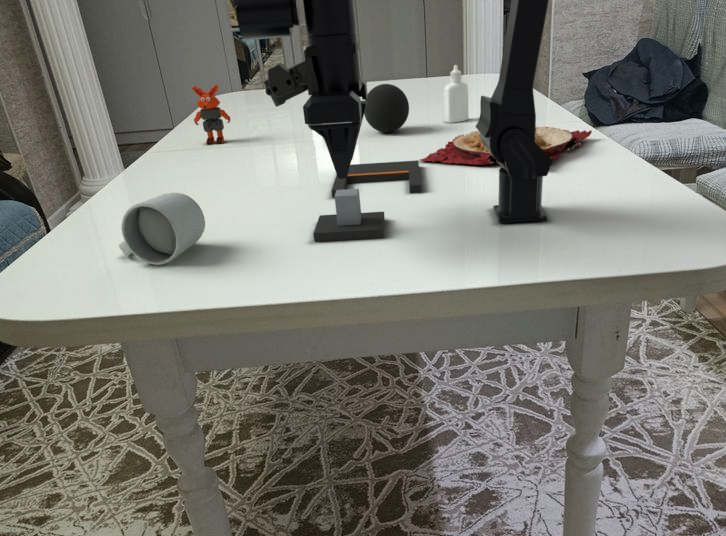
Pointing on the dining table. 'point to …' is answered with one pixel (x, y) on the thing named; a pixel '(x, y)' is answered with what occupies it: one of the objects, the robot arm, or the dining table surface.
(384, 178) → the dock pad
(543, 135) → the plate with food
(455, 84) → the eye dropper bottle
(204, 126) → the toy animal
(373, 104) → the dark grey ball
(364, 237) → the loose pad
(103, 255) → the dining table surface
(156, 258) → the ceramic mug
